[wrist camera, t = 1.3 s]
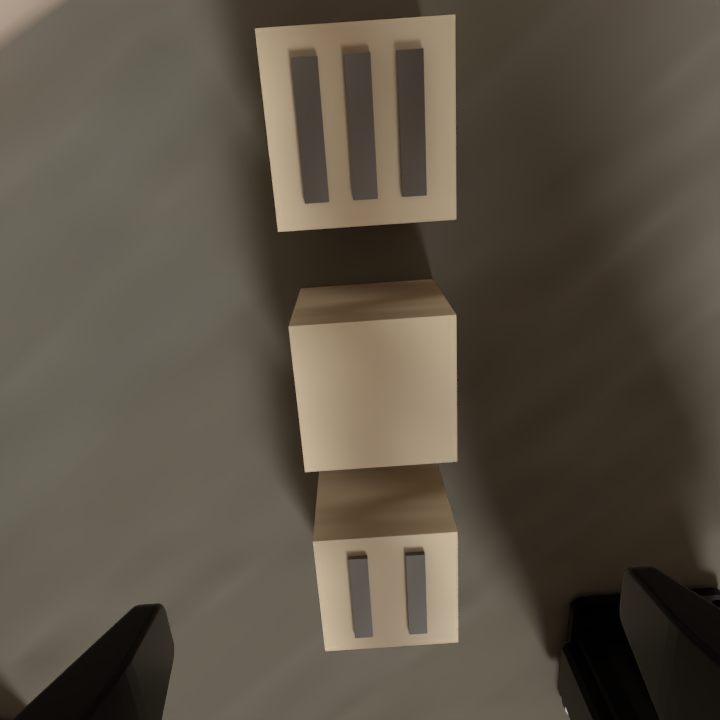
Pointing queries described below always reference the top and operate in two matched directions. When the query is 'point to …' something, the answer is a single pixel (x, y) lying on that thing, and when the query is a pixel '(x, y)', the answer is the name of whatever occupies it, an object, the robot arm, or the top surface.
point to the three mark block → (360, 121)
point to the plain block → (375, 375)
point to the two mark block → (386, 557)
